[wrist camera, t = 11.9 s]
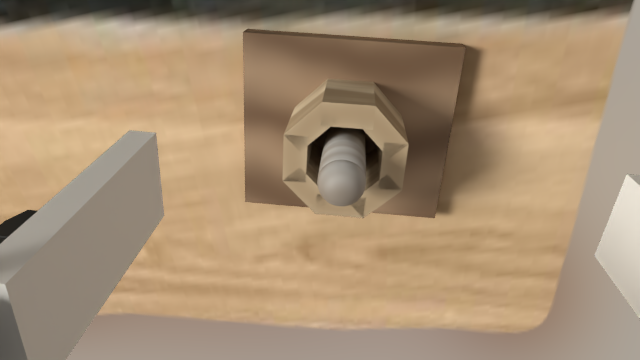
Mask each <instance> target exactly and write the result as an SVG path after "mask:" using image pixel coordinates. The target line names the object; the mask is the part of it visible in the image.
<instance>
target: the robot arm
mask: <svg viewBox="0 0 640 360" xmlns="http://www.w3.org/2000/svg"><path fill="white" fill-rule="evenodd" d="M163 216H164V209H163V199H162V189H161V178H160V168H159V158H158V148H157V138H156V133H153V132H142V131H130V130H129V131H128V132H127V133H126V134H125V135H124V136H123V137H121V138H120V139H119V140H118V141H117V142H116V143H115V144H113V145H112V146H111V147H110V148H109V149H108V150H107V151H105V152H104V153H103V154H102V155H101V156H100V157H99V158H97V159H96V160H95V161H94V162H93V163H92V164H91V165H90V166H88V167H87V168H86V169H85V170H84V171H83V172H82V173H80V174H79V175H78V176H77V177H76V178H75V179H74V180H72V181H71V182H70V183H69V184H68V185H67V186H66V187H64V188H63V189H62V190H61V191H60V192H59V193H58V194H56V195H55V196H54V197H53V198H52V199H51V200H50V201H48V202H47V203H46V204H45V205H44V206H43V207H42V208H41V209H39V210H38V211H33V210H27V211H25V212H23V213H21V214H19V215H16V216H14V217H12V218H10V219H8V220H6V221H4V222H3V223H2V224H1V225H0V360H66V359H67V357H68V356H69V354H70V353H71V351H72V350H73V349H74V347H75V346H76V344H77V343H78V341H79V340H80V338H81V337H82V335H83V334H84V332H85V331H86V329H87V328H88V326H89V325H90V324H91V322H92V321H93V319H94V318H95V316H96V315H97V313H98V312H99V310H100V309H101V307H102V306H103V305H104V303H105V302H106V300H107V299H108V297H109V296H110V294H111V293H112V291H113V290H114V288H115V287H116V285H117V284H118V282H119V281H120V280H121V278H122V277H123V275H124V274H125V272H126V271H127V269H128V268H129V266H130V265H131V263H132V262H133V260H134V259H135V258H136V256H137V255H138V253H139V252H140V250H141V249H142V247H143V246H144V244H145V243H146V241H147V240H148V238H149V237H150V236H151V234H152V233H153V231H154V230H155V228H156V227H157V225H158V224H159V222H160V221H161V219H162V218H163ZM595 257H596V259H597V260H598V261H599V263H600V264H601V266H602V267H603V268H604V270H605V271H606V273H607V274H608V275H609V277H610V278H611V279H612V281H613V282H614V284H615V285H616V286H617V288H618V289H619V291H620V292H621V294H622V295H623V296H624V298H625V299H626V301H627V302H628V303H629V305H630V306H631V308H632V309H633V310H634V312H635V313H636V315H637V316H638V317H639V319H640V175H632V174H627V175H626V177H625V180H624V182H623V185H622V188H621V190H620V193H619V195H618V198H617V200H616V203H615V205H614V208H613V210H612V213H611V215H610V218H609V221H608V223H607V225H606V228H605V230H604V233H603V235H602V238H601V240H600V243H599V245H598V248H597V251H596V253H595Z"/></svg>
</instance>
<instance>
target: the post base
mask: <svg viewBox="0 0 640 360" xmlns="http://www.w3.org/2000/svg"><path fill="white" fill-rule="evenodd" d="M465 50H466V47H465V46H464V45H463V44H456V43H442V42H427V41H413V40H398V39H384V38H370V37H355V36H341V35H327V34H312V33H298V32H283V31H269V30H255V29H247V30H245V31H244V32H243V61H244V136H245V202H252V203H264V204H276V205H287V206H299V207H308V206H307V205H306V204H305V203H304V202H303V201H302V200H301V199H300V198H299V197H298V196H297V195H296V194H295V193H294V192H293V191H292V190H291V189H290V188H289V187H288V186H287V185H286V184H285V183H284V182H283V141H284V132H285V130H286V128H287V125H288V123H289V120H290V118H291V115H292V113H293V110H294V108H295V107H296V106H297V105H298V104H299V103H300V102H301V101H303V100H304V99H305V98H306V97H307V96H308V95H310V94H311V93H312V92H313V91H314V90H315V89H317V88H318V87H319V86H320V85H321V84H322V83H323V82H325V81H326V80H327V79H339V80H352V81H366V82H374V83H375V85H376V86H377V87H378V88H379V89H380V90H381V92H382V93H383V94H384V95H385V96H386V97H387V99H388V100H389V101H390V102H391V103H392V105H393V106H394V107H395V108H396V109H397V110H398V112H399V113H400V114H401V115H402V119H403V123H404V127H405V131H406V135H407V139H408V144H409V145H408V152H407V159H406V166H405V173H404V180H403V187H402V191H401V192H399V193H398V194H397V195H395V196H394V197H392V198H391V199H390V200H388V201H387V202H385V203H384V204H383V205H381V206H380V207H378V208H377V209H376V210H374V211H373V212H371V213H381V214H393V215H405V216H416V217H428V218H435V214H436V209H437V203H438V198H439V192H440V187H441V181H442V176H443V170H444V165H445V159H446V154H447V148H448V143H449V137H450V132H451V126H452V121H453V115H454V110H455V105H456V99H457V94H458V88H459V83H460V77H461V72H462V66H463V61H464V55H465ZM314 143H315V144H316V145H317V146H318V147H319V148H320V149H321V150H322V151H323V152H322V157H321V162H320V168H319V173H318V179H317V185H318V189H319V192H320V194H321V196H322V197H323V198H324V199H325V200H326V201H327V202H328V203H330V204H332V205H335V206H348V205H351V204H353V203H355V202H356V201H358V200H359V199H360V198H361V196H362V195H363V193H364V191H365V188H366V155H367V154H369V153H370V152H371V151H372V150H374V149H375V148H376V147H377V145H376V143H375V142H374V141H373V140H372V139H371V138H370V137H369V136H368V134H367V133H366V132H365V131H364V130H363V129H356V128H343V127H330V128H328V129H327V130H326V131H325V132H324V133H322V134H321V135H320V136H319V137H317V138H316V139H315V140H314Z"/></svg>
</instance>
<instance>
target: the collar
mask: <svg viewBox="0 0 640 360" xmlns="http://www.w3.org/2000/svg"><path fill="white" fill-rule="evenodd" d="M330 127H343V128H356V129H363V130H364V131H365V132H366V133H367V134H368V136H369V137H370V138H371V139H372V140H373V141H374V142H375V143H376V145H377V147H376V148H375V149H374V150H372V151H371V152H370V153H369V154H367V155H366V188H365V191H364V193H363V195H362V196H361V198H360V199H359V200H358V201H356V202H355V203H353V204H351V205H348V206H335V205H332V204H330V203H328V202H327V201H326V200H325V199H324V198H323V197H322V196H321V194H320V192H319V189H318V185H317V179H318V173H319V168H320V162H321V157H322V152H323V151H322V150H321V149H320V148H319V147H318V146H317V145H316V144H315V143H314V140H315V139H316V138H317V137H319V136H320V135H321V134H322V133H324V132H325V131H326V130H327V129H328V128H330ZM408 145H409V144H408V139H407V135H406V131H405V127H404V123H403V119H402V115H401V114H400V113H399V112H398V110H397V109H396V108H395V107H394V106H393V105H392V103H391V102H390V101H389V100H388V99H387V97H386V96H385V95H384V94H383V93H382V92H381V90H380V89H379V88H378V87H377V86H376V85H375V83H374V82H366V81H352V80H339V79H327V80H326V81H325V82H323V83H322V84H321V85H320V86H319V87H318V88H317V89H315V90H314V91H313V92H312V93H311V94H310V95H308V96H307V97H306V98H305V99H304V100H303V101H301V102H300V103H299V104H298V105H297V106H296V107H295V108H294V110H293V113H292V115H291V118H290V120H289V123H288V125H287V128H286V130H285V132H284V141H283V182H284V183H285V184H286V185H287V186H288V187H289V188H290V189H291V190H292V191H293V192H294V193H295V194H296V195H297V196H298V197H299V198H300V199H301V200H302V201H303V202H304V203H305V204H306V205H307V206H308V207H309V208H310V209H311V210H312V211H313V212H314V213H315V214H321V215H333V216H345V217H356V218H364V217H366V216H367V215H369V214H370V213H371V212H373V211H374V210H376V209H377V208H378V207H380V206H381V205H383V204H384V203H385V202H387V201H388V200H390V199H391V198H392V197H394V196H395V195H397V194H398V193H399V192H401V191H402V187H403V180H404V173H405V166H406V159H407V152H408Z"/></svg>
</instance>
